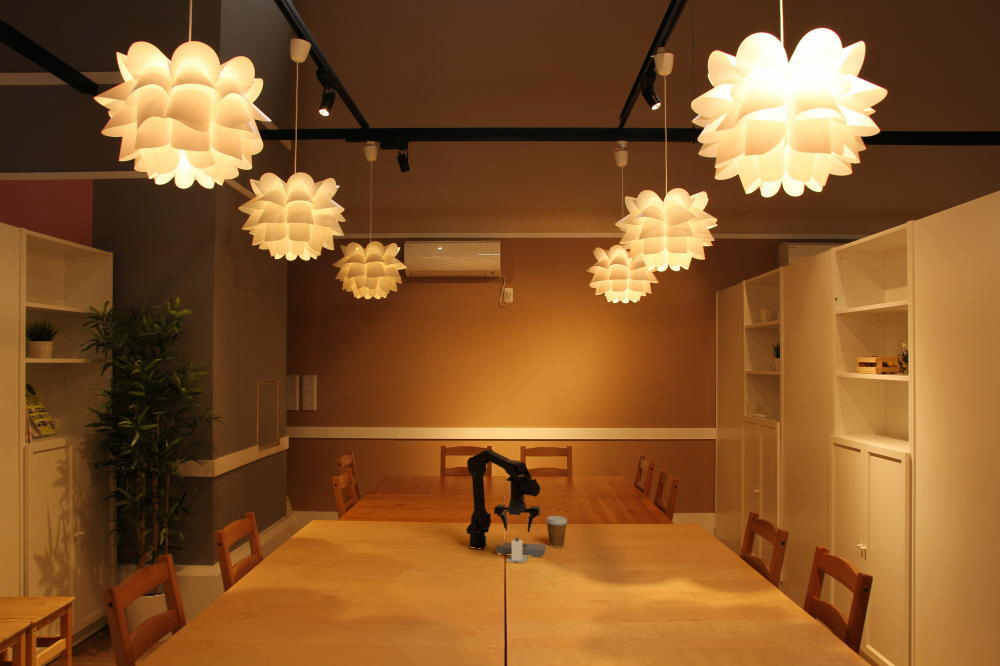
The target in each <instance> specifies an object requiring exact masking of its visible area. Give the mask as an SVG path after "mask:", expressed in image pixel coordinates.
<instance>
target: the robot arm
mask: <svg viewBox="0 0 1000 666" xmlns="http://www.w3.org/2000/svg"><path fill="white" fill-rule="evenodd" d="M489 463H491V464H494V465H496V466H497V467H500V468H501V469H503V470H504V471H505V473H506V474H507V475H508V476H509V477H507V479H506V481H507V482H510V497H509V498H510V500H509V504H508V506H506V504H496V505H495V507H494V509H493V514H494V515H497V517H500V519H501V521H502V523H503V526H504V529H505V532H507V531H508V516H507V515H508V514H509V515H510V516H513V515H514V516H515V515H516V516H520V515H521V513H523V514H524V513H527V514H529V515H528V522H527V533H529V532H530V529H531V526H532V523H533V521H534V519H535V518H537V517H539V516H540V514H541V512H542V511H541V507H540V506H538V505H531V506H530V507H527V504H526V502H525V496H531V497H534V498H535V497H538V496H539V494H540V491H541V486H540V484H539V483H538V482H537V479H536V478H533V477H532V476H531V473H530V471H529V469H528V467H527V466H526V465H527V464H526V463H525V462H523V461H522V460H521V461H520V460H514V459H509V458H508V457H505V456H504V455H502V454H500V453H498V452H496V451H494V450H493V449H485V450H484V449H483V450H482V451H481V452H479V453H477V454H475V455H473V456H470V457H469V458H468V459H467V463H466V464H467V465H466V467H467V470H468V473H469V475H470V476H471V479H472V496H473V512H472V514H471V516H470V517H471V518H470V523H469V525H468V526H467V527H466V528H465V529H466V534H467V535H469V547H475V548H484V547H485V548H486V546H487V536H486V533H489V530H490V527H491V523H492V519H491V516H492V515H491V513H490V512H488V511H487V510H486V497H485V481H484V476H485V474H486V471H487V465H488V464H489ZM507 513H508V514H507ZM485 548H484V549H485Z"/></svg>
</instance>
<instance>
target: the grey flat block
mask: <svg viewBox="0 0 1000 666" xmlns="http://www.w3.org/2000/svg"><path fill="white" fill-rule="evenodd" d="M544 552H545V553H546V544H540V543H539V544H538V543H524V542H523V555H531V556H543V555H544V556H545V553H544ZM496 553H501V554H512V542H505V541H499V542H498V543H497V545H496V547H495V554H496ZM544 556H543V557H544Z"/></svg>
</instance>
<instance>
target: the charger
mask: <svg viewBox="0 0 1000 666" xmlns="http://www.w3.org/2000/svg"><path fill="white" fill-rule="evenodd" d="M511 543H512V560H522V558H523V543H524V542H523V539H519V537H515V539H512V540H511Z"/></svg>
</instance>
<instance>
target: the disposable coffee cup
mask: <svg viewBox="0 0 1000 666" xmlns="http://www.w3.org/2000/svg"><path fill="white" fill-rule="evenodd" d="M545 522H546V526H547V532H548V533H547V535H548V541H549V543H548V544H549V546H550V545H552V546H563V545H564V546H565V538H566V530H567V523H568V520H567V518H566V517H565V516H562V515H551V516H548V517H547V518H546V520H545ZM552 546H551V547H552ZM564 546H563V547H564Z"/></svg>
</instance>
